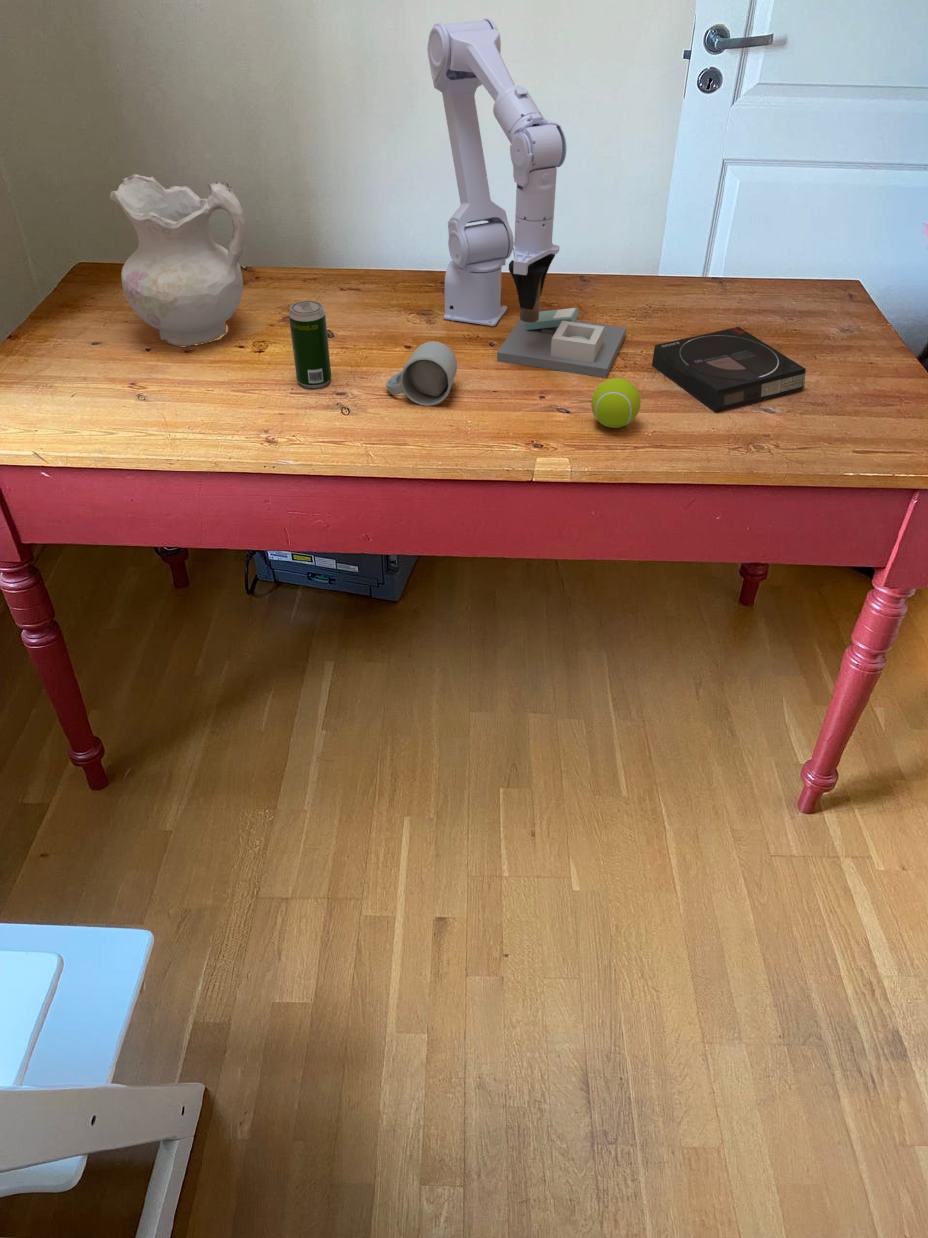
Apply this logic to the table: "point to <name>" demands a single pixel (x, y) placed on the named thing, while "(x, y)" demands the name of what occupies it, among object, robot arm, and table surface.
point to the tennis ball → (616, 402)
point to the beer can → (310, 344)
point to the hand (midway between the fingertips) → (529, 303)
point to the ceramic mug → (426, 374)
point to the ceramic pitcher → (181, 259)
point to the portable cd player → (728, 368)
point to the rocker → (553, 318)
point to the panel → (564, 347)
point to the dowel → (529, 314)
